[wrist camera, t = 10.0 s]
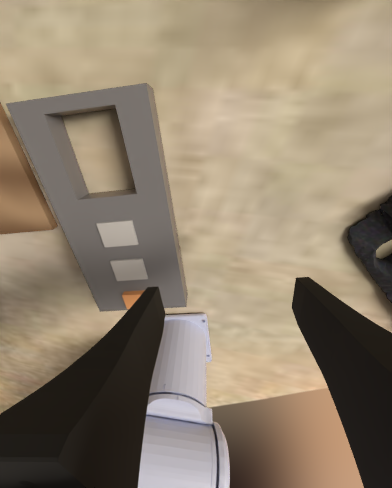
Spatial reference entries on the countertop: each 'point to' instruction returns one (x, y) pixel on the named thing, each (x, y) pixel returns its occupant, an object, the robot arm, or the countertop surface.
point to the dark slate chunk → (375, 245)
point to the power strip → (110, 197)
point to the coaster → (19, 188)
